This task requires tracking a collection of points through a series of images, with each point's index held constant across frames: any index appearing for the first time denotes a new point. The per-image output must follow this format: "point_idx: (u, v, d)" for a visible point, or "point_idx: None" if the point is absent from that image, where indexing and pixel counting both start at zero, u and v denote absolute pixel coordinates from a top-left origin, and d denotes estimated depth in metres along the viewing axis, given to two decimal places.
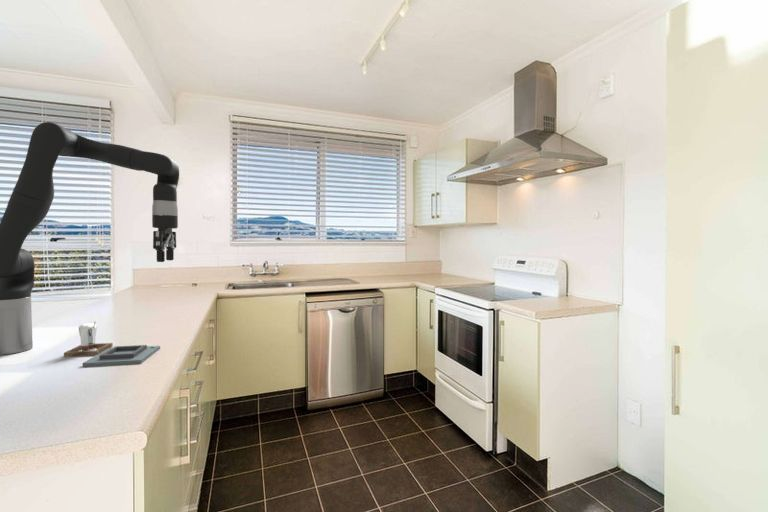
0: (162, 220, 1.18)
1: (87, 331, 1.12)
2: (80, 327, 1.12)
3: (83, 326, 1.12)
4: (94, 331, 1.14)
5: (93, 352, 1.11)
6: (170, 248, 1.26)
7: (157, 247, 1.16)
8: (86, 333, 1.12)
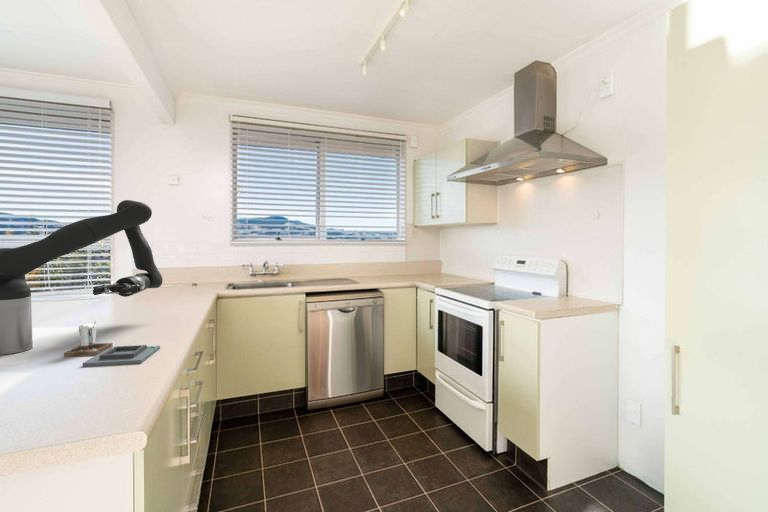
0: None
1: (87, 331, 1.12)
2: (80, 327, 1.12)
3: (83, 326, 1.12)
4: (94, 331, 1.14)
5: (93, 352, 1.11)
6: (102, 291, 1.28)
7: (137, 289, 1.32)
8: (86, 333, 1.12)
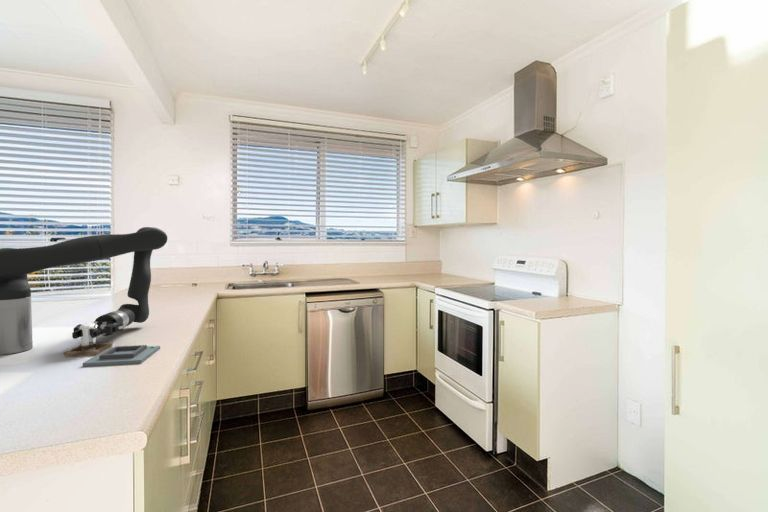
0: None
1: (88, 331, 1.12)
2: (81, 327, 1.12)
3: (84, 326, 1.12)
4: None
5: (93, 352, 1.11)
6: None
7: (110, 330, 1.17)
8: (86, 333, 1.12)
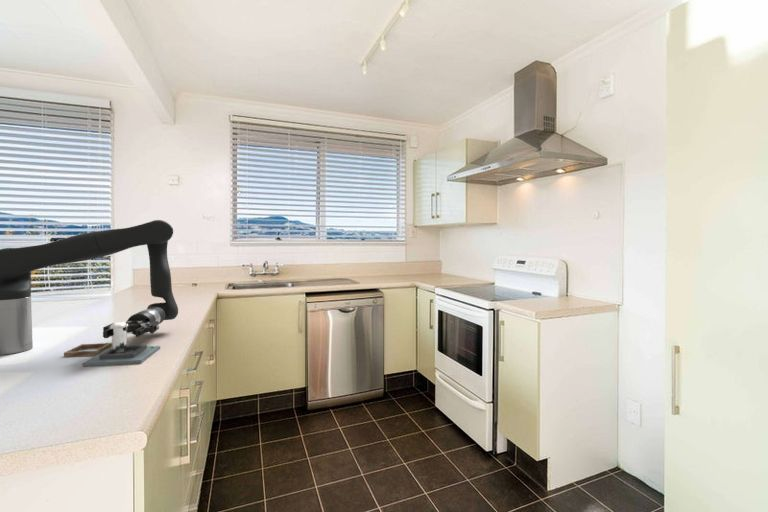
0: None
1: (119, 330, 1.08)
2: (112, 326, 1.08)
3: (115, 325, 1.08)
4: (126, 330, 1.10)
5: (93, 352, 1.11)
6: None
7: (153, 329, 1.14)
8: (118, 332, 1.08)
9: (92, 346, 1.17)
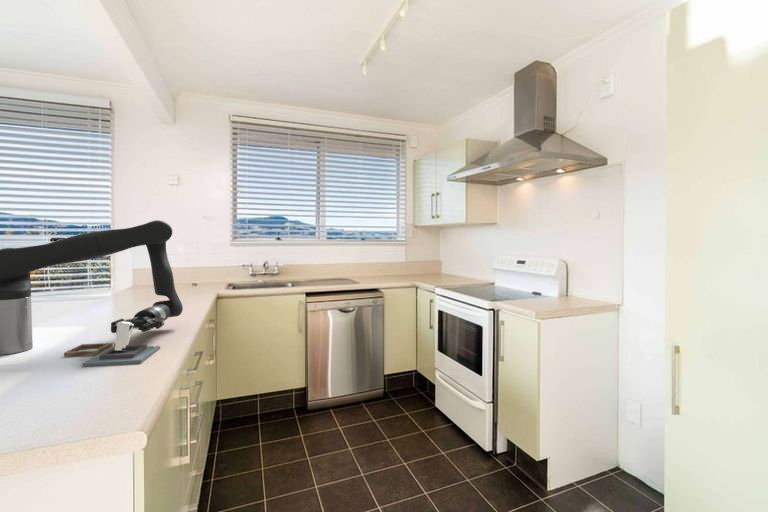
0: None
1: (125, 327, 1.11)
2: (119, 323, 1.11)
3: (122, 322, 1.11)
4: (131, 329, 1.13)
5: (93, 352, 1.11)
6: None
7: (158, 324, 1.18)
8: (123, 329, 1.11)
9: (92, 346, 1.17)
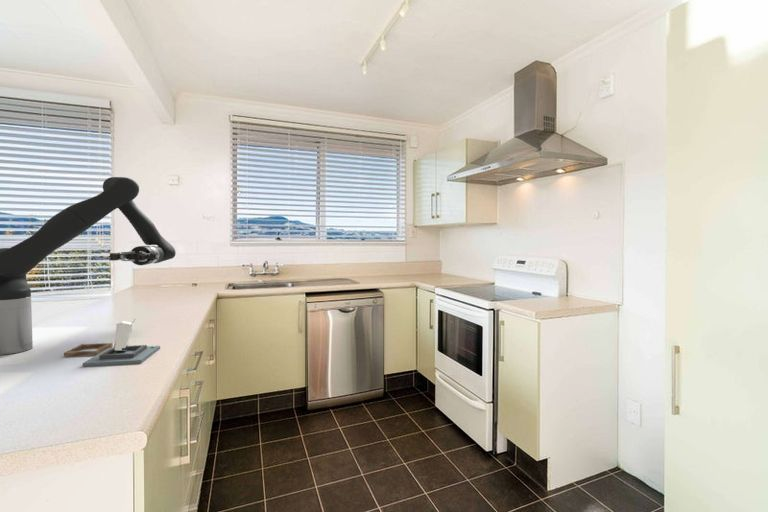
0: None
1: (125, 327, 1.11)
2: (119, 323, 1.11)
3: (122, 322, 1.11)
4: (131, 329, 1.13)
5: (93, 352, 1.11)
6: (118, 257, 1.28)
7: (153, 257, 1.31)
8: (123, 329, 1.11)
9: (92, 346, 1.17)
